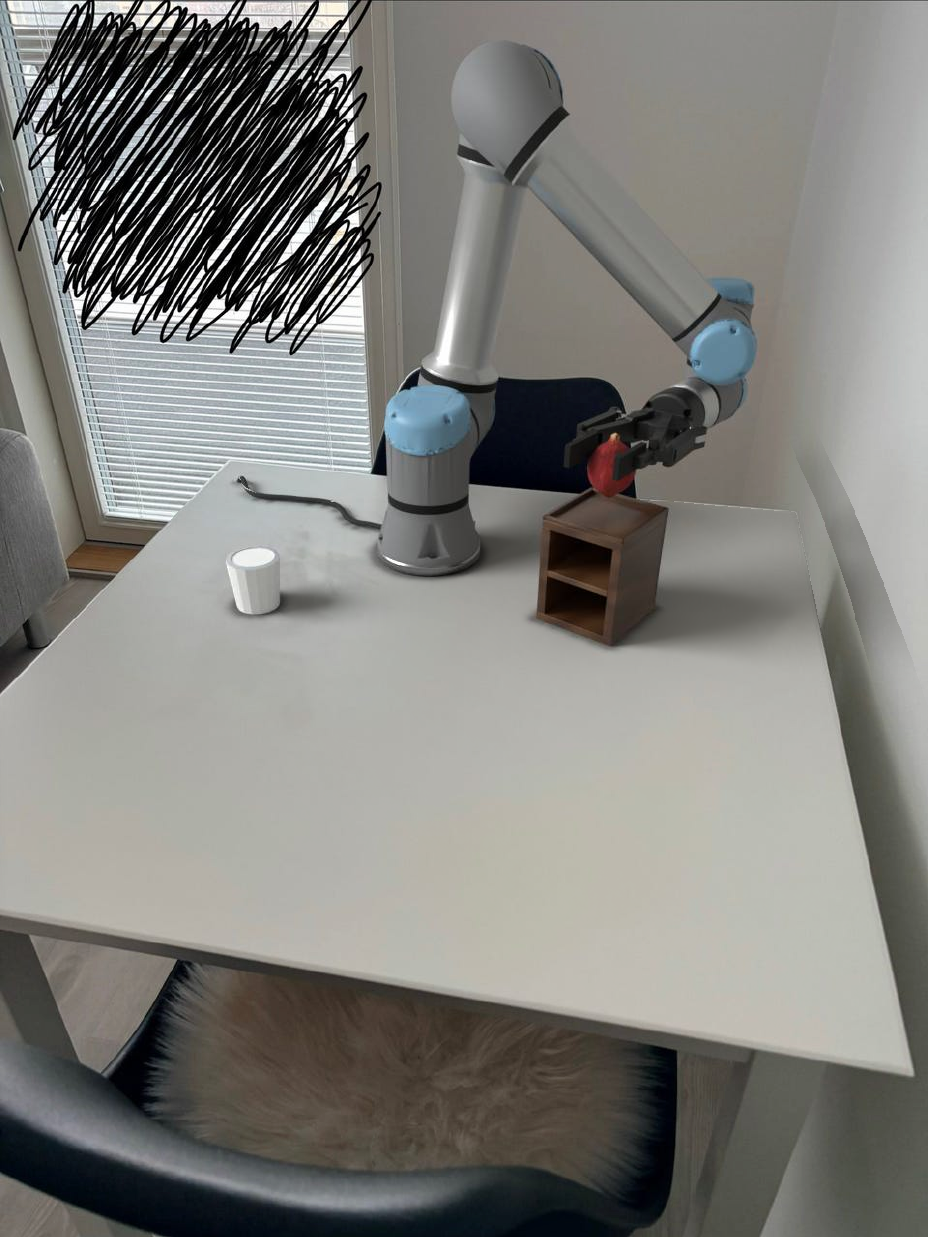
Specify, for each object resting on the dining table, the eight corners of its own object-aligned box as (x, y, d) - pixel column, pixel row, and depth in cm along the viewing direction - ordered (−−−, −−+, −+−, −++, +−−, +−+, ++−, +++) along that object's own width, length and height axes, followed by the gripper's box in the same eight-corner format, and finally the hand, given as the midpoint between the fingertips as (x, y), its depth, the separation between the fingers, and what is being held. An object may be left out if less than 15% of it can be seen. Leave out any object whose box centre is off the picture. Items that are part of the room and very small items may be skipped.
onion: (635, 507, 105) (643, 443, 101) (587, 506, 105) (593, 442, 101) (628, 488, 110) (636, 426, 106) (582, 487, 110) (588, 425, 106)
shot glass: (290, 592, 119) (286, 546, 116) (276, 618, 113) (271, 570, 110) (241, 589, 120) (235, 543, 116) (224, 615, 114) (217, 567, 110)
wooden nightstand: (536, 618, 114) (542, 515, 107) (583, 584, 123) (592, 486, 115) (610, 646, 109) (622, 540, 101) (654, 608, 117) (668, 507, 109)
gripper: (741, 456, 114) (661, 513, 98) (614, 427, 123) (522, 474, 107) (752, 399, 110) (670, 448, 94) (619, 373, 119) (524, 414, 103)
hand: (591, 462), depth 101 cm, fingers closed on onion, 6 cm apart
